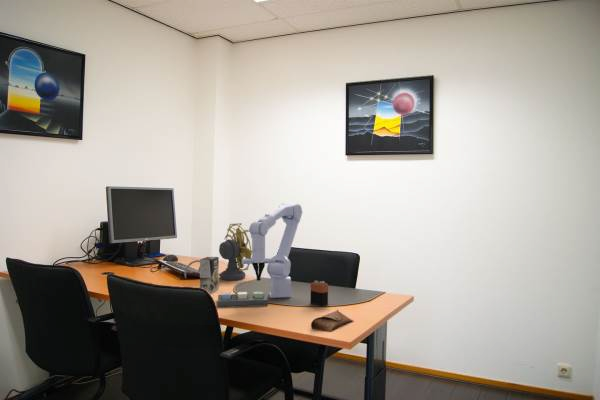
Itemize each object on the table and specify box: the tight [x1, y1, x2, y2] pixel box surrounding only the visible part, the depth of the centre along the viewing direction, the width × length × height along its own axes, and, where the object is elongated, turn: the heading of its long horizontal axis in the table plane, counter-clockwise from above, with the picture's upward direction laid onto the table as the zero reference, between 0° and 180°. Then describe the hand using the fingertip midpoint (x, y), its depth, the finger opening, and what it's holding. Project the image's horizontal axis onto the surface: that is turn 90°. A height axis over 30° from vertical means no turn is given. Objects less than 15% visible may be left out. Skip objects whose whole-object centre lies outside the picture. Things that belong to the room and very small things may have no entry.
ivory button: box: [237, 291, 248, 299], centre depth 213 cm, size 4×4×3 cm
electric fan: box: [184, 222, 252, 281], centre depth 262 cm, size 26×32×30 cm
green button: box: [253, 291, 264, 298], centre depth 214 cm, size 4×4×3 cm
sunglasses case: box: [310, 309, 354, 333], centre depth 182 cm, size 18×7×7 cm
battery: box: [310, 280, 329, 307], centre depth 212 cm, size 4×7×10 cm, turn 47°
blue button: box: [221, 292, 232, 299], centre depth 212 cm, size 4×4×3 cm
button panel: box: [217, 292, 269, 308], centre depth 213 cm, size 21×12×2 cm, turn 99°
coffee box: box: [199, 256, 220, 294], centre depth 235 cm, size 9×6×16 cm
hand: (258, 280), depth 213 cm, fingers closed
